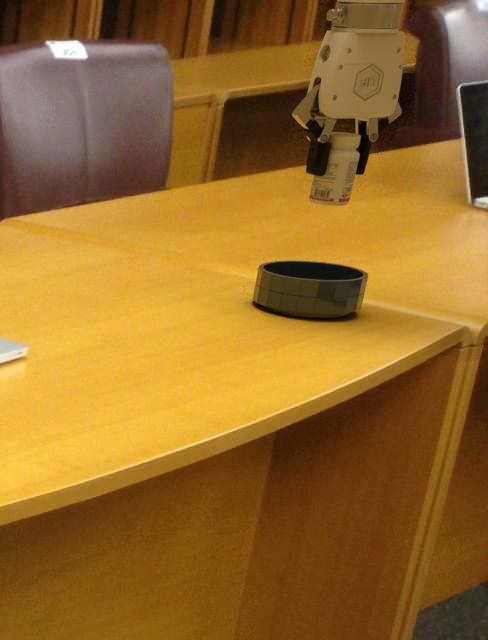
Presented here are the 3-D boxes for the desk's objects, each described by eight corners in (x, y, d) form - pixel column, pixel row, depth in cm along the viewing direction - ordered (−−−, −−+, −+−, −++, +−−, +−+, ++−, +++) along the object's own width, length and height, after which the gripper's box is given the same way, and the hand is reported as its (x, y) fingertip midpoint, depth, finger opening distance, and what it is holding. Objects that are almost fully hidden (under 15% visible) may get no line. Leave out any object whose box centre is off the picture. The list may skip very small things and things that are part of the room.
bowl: (381, 317, 197) (390, 278, 195) (289, 322, 195) (297, 283, 193) (319, 295, 209) (327, 258, 207) (231, 300, 207) (238, 262, 205)
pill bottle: (338, 199, 198) (355, 131, 195) (354, 206, 194) (371, 137, 190) (302, 198, 199) (318, 130, 195) (316, 206, 194) (333, 136, 190)
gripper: (323, 21, 182) (291, 180, 190) (449, 20, 185) (413, 176, 193) (285, 17, 189) (257, 171, 197) (408, 16, 191) (375, 168, 200)
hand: (334, 172), depth 195 cm, fingers closed on pill bottle, 4 cm apart
